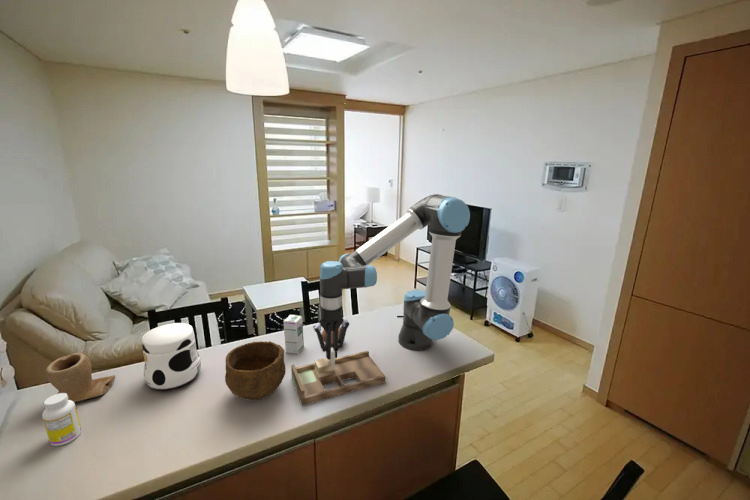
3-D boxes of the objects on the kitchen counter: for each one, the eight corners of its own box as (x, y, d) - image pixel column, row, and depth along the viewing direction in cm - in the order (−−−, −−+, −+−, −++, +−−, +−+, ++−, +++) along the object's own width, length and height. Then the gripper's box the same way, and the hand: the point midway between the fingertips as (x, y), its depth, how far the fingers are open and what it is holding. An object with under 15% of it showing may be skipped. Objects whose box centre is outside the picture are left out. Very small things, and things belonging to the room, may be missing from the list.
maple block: (328, 366, 125) (327, 357, 124) (332, 374, 120) (332, 364, 119) (314, 370, 123) (314, 360, 122) (318, 377, 118) (318, 367, 117)
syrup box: (298, 354, 137) (297, 321, 133) (284, 352, 138) (283, 320, 134) (304, 347, 142) (302, 315, 139) (291, 345, 143) (289, 314, 140)
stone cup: (45, 415, 102) (33, 372, 98) (61, 391, 113) (51, 351, 109) (107, 402, 108) (98, 360, 105) (117, 380, 119) (109, 342, 115)
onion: (332, 345, 149) (333, 322, 151) (348, 347, 144) (349, 323, 146) (316, 346, 142) (317, 322, 144) (332, 348, 136) (333, 322, 138)
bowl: (297, 382, 119) (295, 345, 116) (264, 419, 102) (260, 376, 98) (253, 371, 125) (250, 335, 122) (214, 404, 108) (209, 363, 104)
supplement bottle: (63, 428, 97) (53, 390, 94) (87, 427, 98) (78, 389, 95) (43, 448, 91) (31, 407, 88) (69, 446, 91) (59, 406, 88)
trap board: (367, 359, 134) (367, 347, 133) (385, 382, 121) (385, 368, 119) (291, 378, 122) (291, 364, 120) (301, 405, 108) (301, 391, 107)
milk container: (139, 378, 120) (131, 333, 115) (191, 359, 132) (186, 317, 128) (154, 402, 109) (146, 352, 104) (209, 378, 121) (204, 333, 116)
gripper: (345, 299, 123) (345, 356, 129) (310, 304, 117) (311, 364, 123) (352, 307, 116) (352, 367, 122) (315, 313, 111) (317, 376, 117)
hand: (331, 365), depth 123 cm, fingers closed
